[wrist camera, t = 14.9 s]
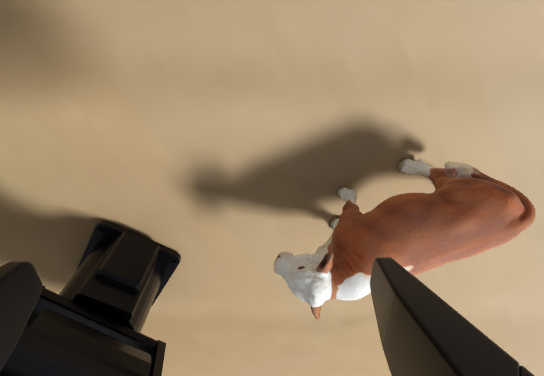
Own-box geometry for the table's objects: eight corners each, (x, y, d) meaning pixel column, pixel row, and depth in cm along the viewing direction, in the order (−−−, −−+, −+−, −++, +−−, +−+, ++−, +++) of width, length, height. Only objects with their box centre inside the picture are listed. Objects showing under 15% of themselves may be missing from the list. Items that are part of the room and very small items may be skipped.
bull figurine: (267, 199, 23) (264, 286, 16) (467, 134, 20) (571, 202, 13) (288, 244, 25) (294, 341, 18) (472, 190, 22) (565, 277, 15)
